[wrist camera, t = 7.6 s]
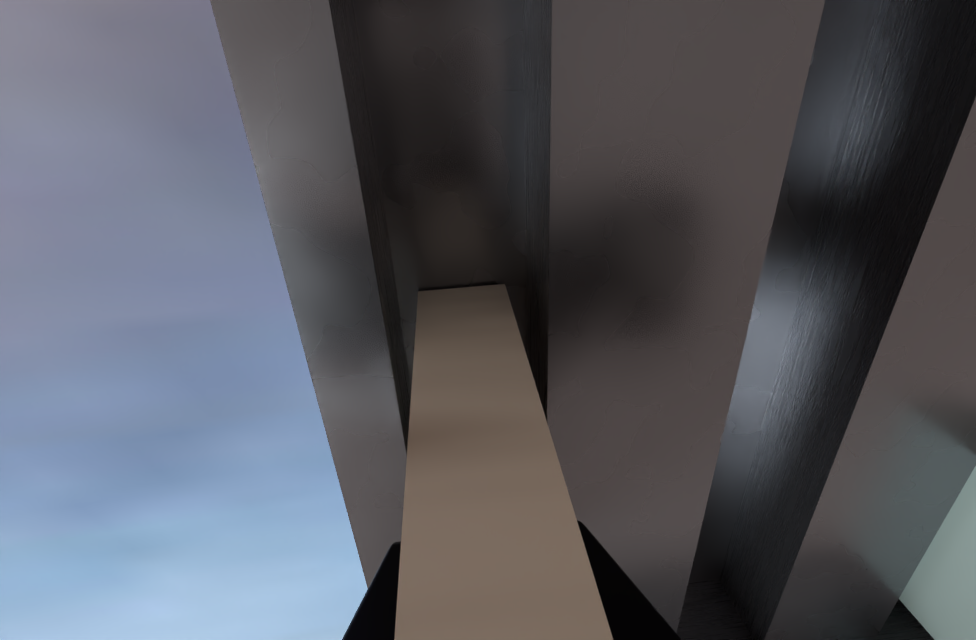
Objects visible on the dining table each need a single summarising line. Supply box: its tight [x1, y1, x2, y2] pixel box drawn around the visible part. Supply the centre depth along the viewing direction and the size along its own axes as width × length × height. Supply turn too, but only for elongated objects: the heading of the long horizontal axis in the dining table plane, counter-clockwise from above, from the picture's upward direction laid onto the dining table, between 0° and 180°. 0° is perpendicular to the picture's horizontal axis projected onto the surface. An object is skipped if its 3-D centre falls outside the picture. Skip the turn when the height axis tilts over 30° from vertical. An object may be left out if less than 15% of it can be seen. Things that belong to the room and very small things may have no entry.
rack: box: [210, 0, 976, 640], centre depth 11 cm, size 22×20×7 cm
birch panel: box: [394, 284, 613, 640], centre depth 9 cm, size 6×2×9 cm, turn 3°
